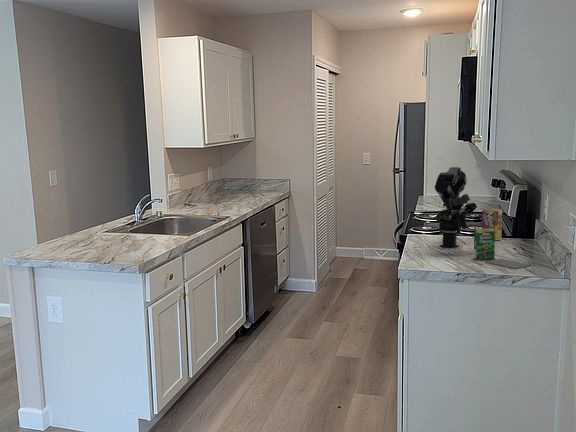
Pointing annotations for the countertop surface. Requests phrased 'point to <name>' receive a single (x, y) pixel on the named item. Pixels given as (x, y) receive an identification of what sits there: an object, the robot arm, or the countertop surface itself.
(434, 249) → the countertop surface
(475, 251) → the coffee box
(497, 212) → the candy box
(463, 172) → the robot arm
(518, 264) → the mat
